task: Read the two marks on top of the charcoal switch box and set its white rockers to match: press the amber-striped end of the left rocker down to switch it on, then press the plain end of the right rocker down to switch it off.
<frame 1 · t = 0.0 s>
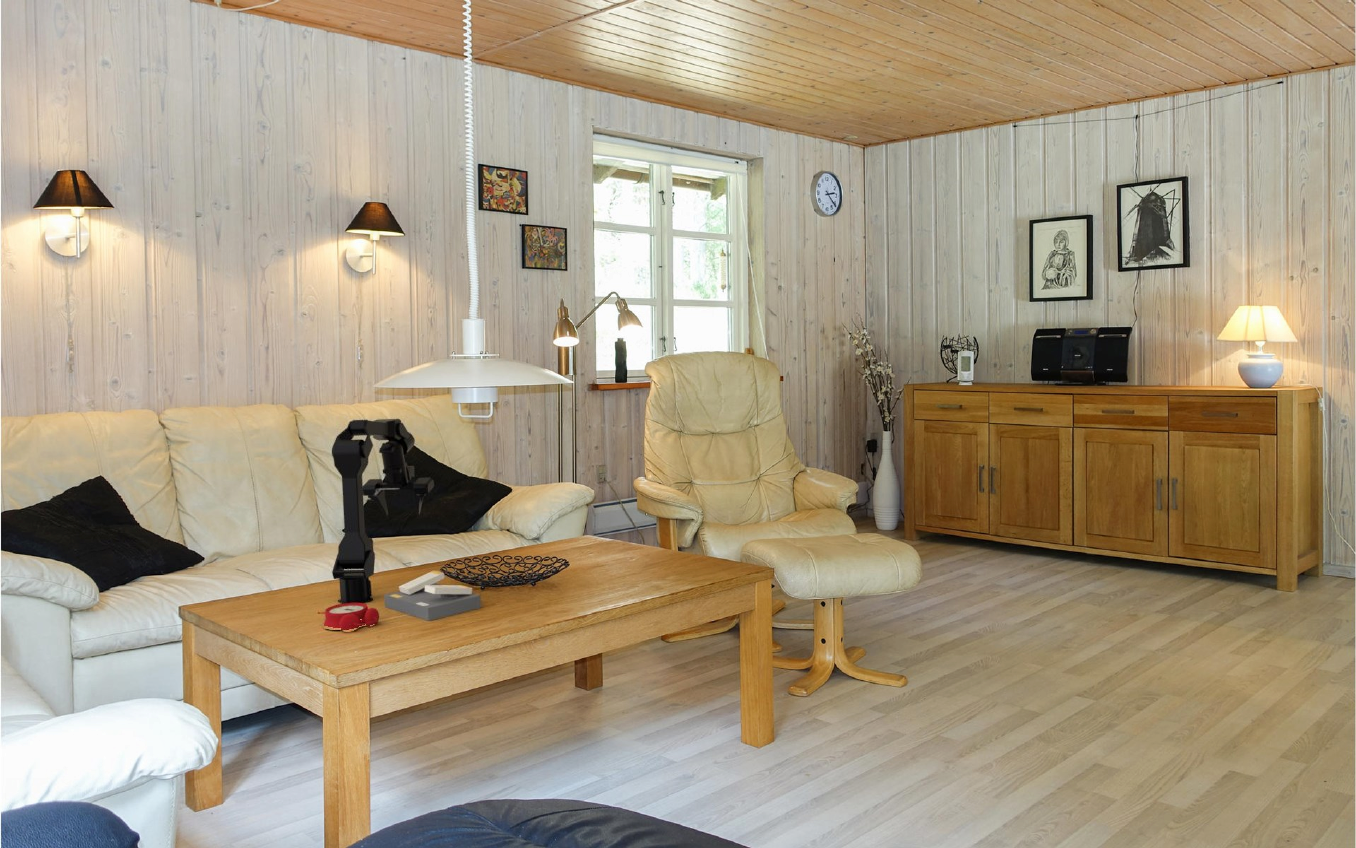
hand: (402, 514, 284), 15 cm above the table, tool pointing down, fingers open, 9 cm apart
switch box: (432, 607, 242), on the table
left rocker: (421, 582, 247), point 5 cm above the table, hinge at -12.0°
right rocker: (448, 589, 238), point 5 cm above the table, hinge at 12.0°
alarm clock: (351, 627, 229), on the table
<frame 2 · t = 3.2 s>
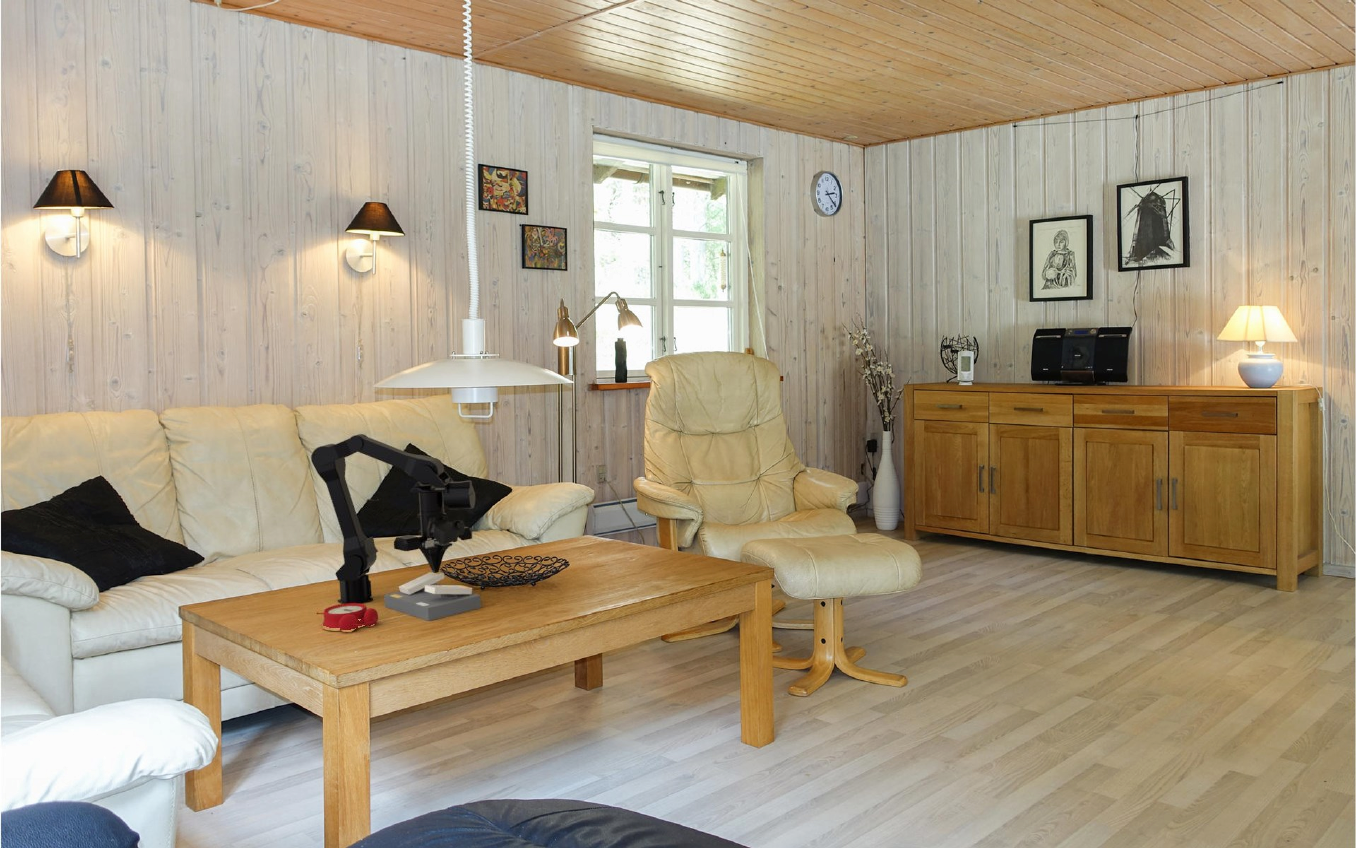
hand: (435, 572, 249), 7 cm above the table, tool pointing down, fingers closed, pressing on left rocker
left rocker: (421, 582, 247), point 5 cm above the table, hinge at -12.0°, touching gripper
everything else where it was.
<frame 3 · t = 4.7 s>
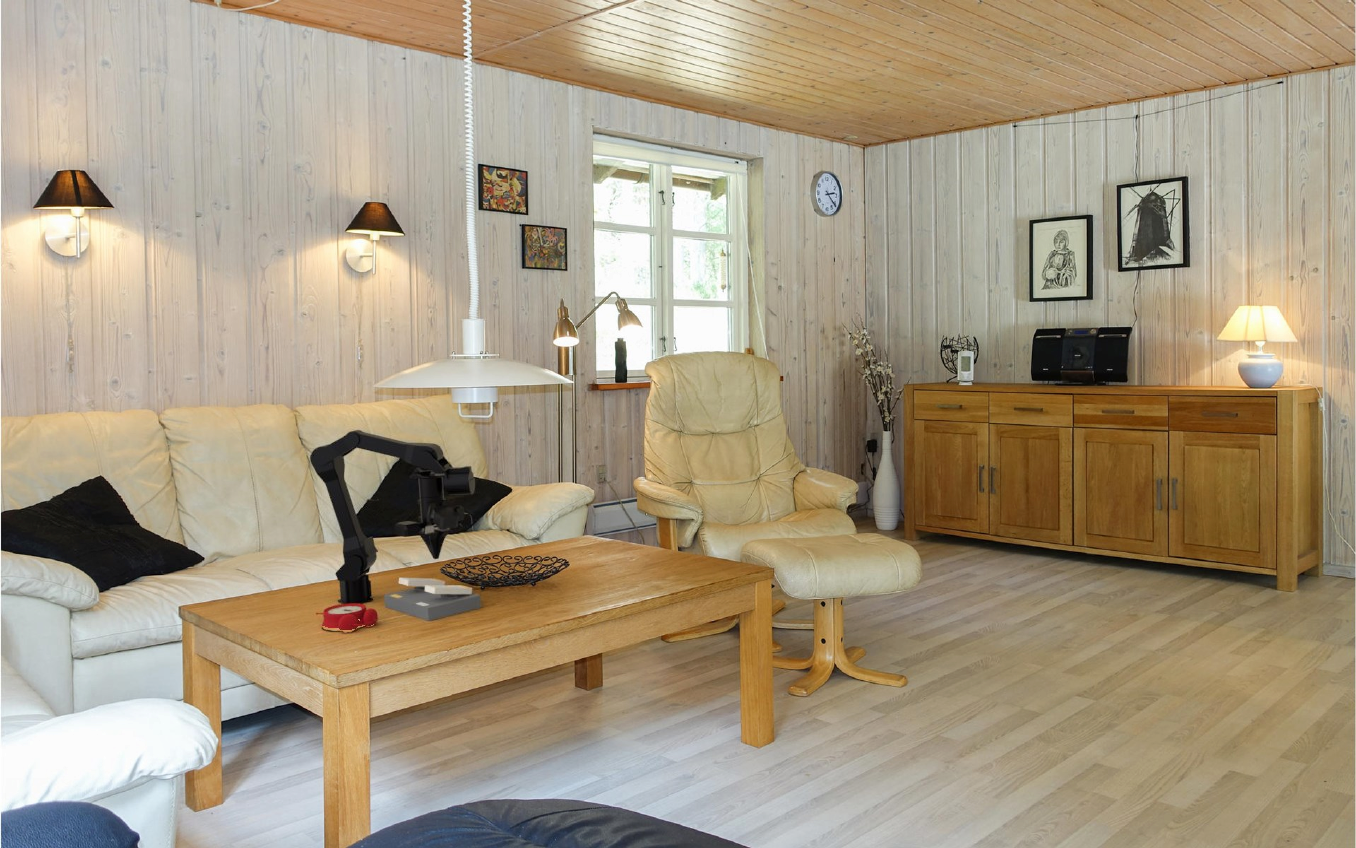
hand: (436, 558, 249), 10 cm above the table, tool pointing down, fingers closed
left rocker: (422, 582, 247), point 5 cm above the table, hinge at 13.3°
everything else where it was.
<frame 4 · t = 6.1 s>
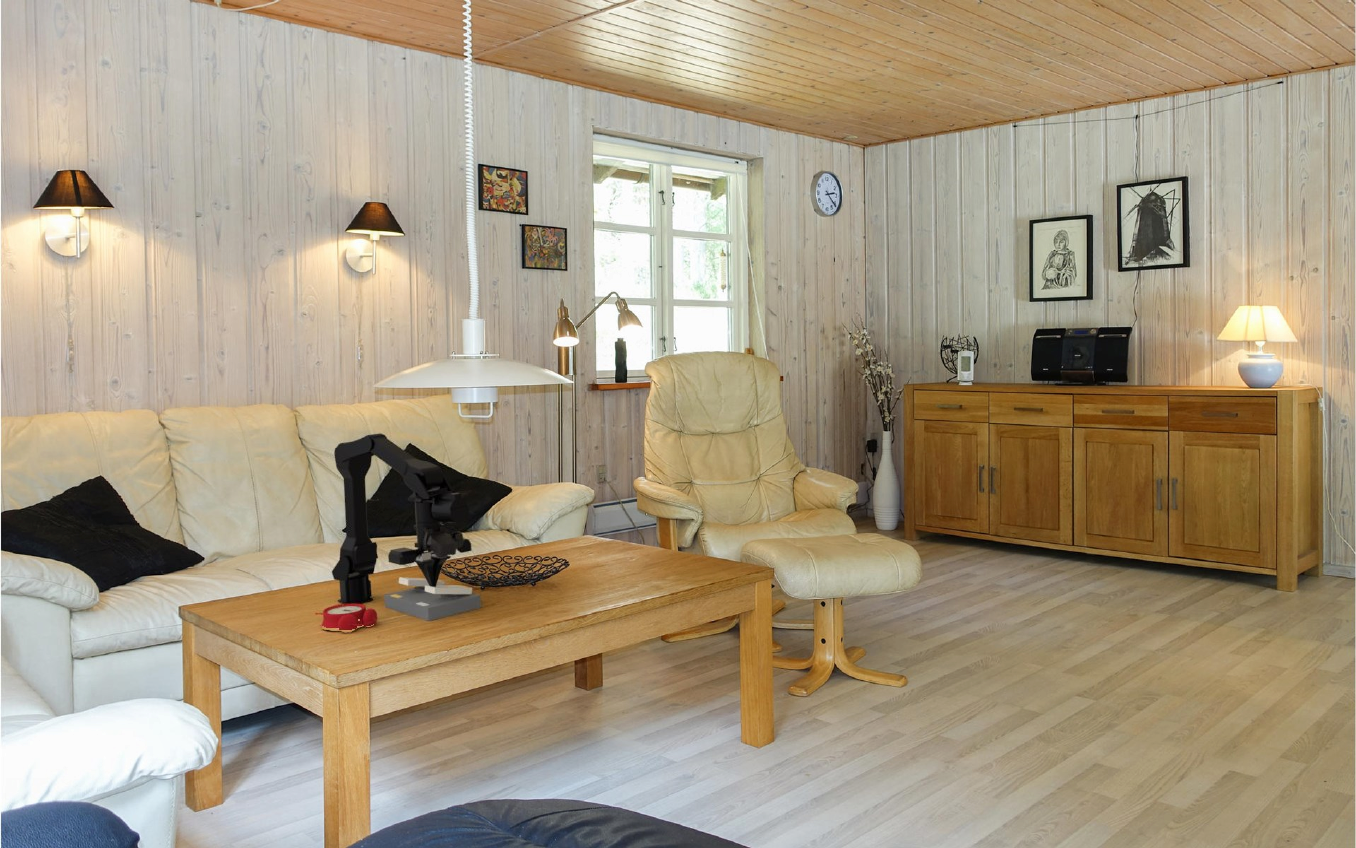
hand: (432, 587, 235), 6 cm above the table, tool pointing down, fingers closed, pressing on right rocker
left rocker: (422, 582, 247), point 5 cm above the table, hinge at 13.7°
right rocker: (448, 589, 238), point 5 cm above the table, hinge at 12.0°, touching gripper
everything else where it was.
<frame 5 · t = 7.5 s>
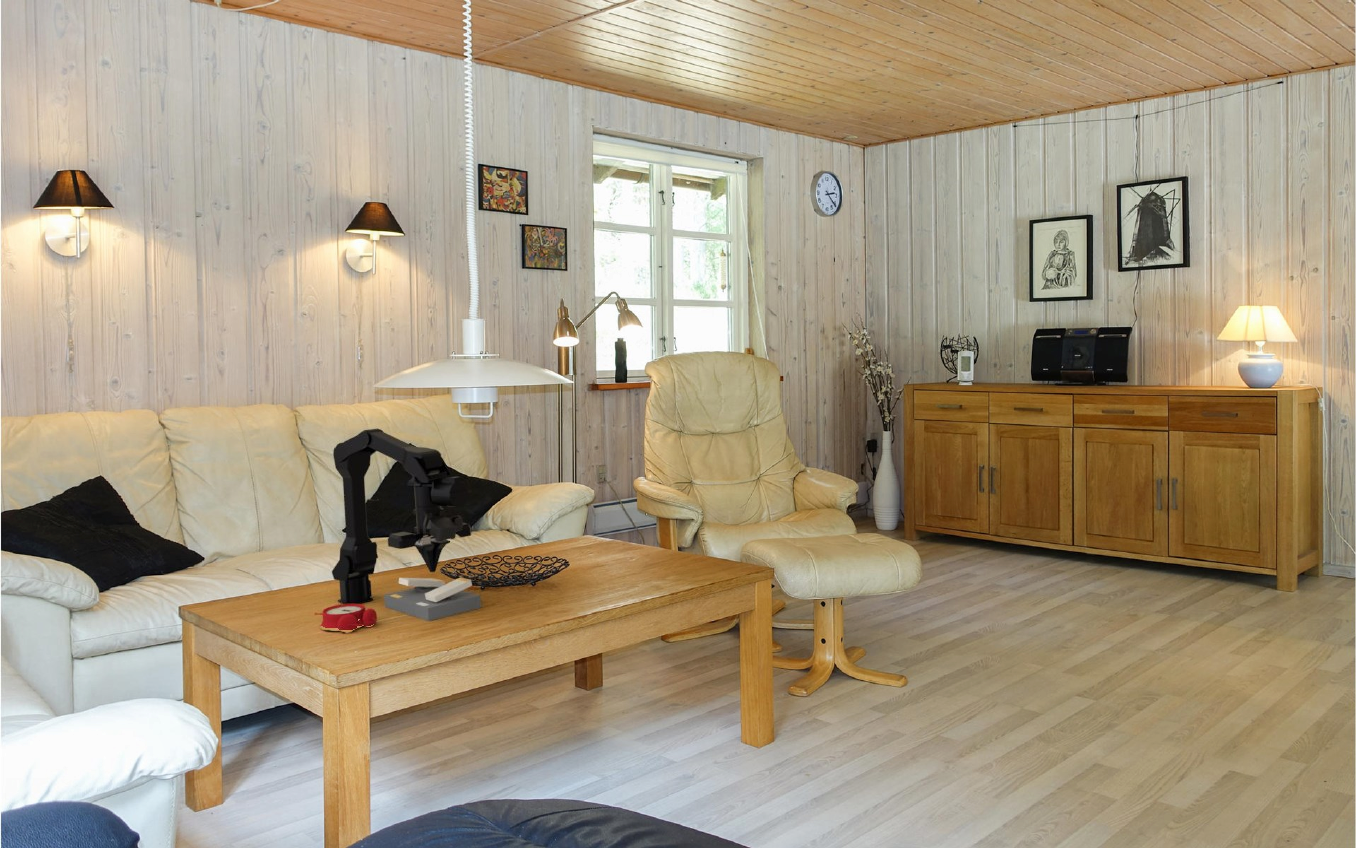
hand: (432, 572, 235), 10 cm above the table, tool pointing down, fingers closed
left rocker: (422, 582, 247), point 5 cm above the table, hinge at 12.9°
right rocker: (448, 589, 238), point 5 cm above the table, hinge at -11.1°
everything else where it was.
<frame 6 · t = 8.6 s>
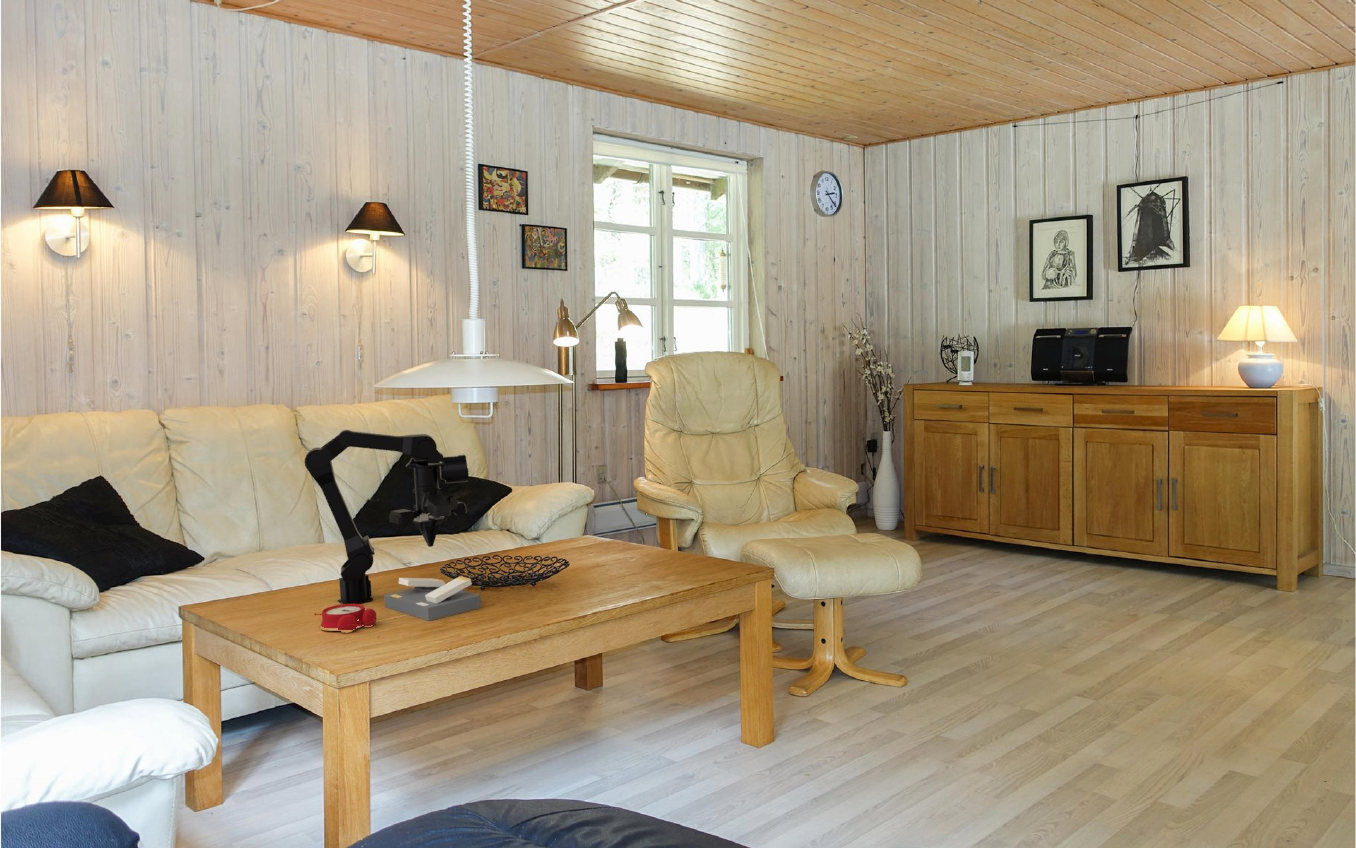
hand: (430, 546, 255), 12 cm above the table, tool pointing down, fingers closed
right rocker: (448, 589, 238), point 5 cm above the table, hinge at -15.2°
everything else where it was.
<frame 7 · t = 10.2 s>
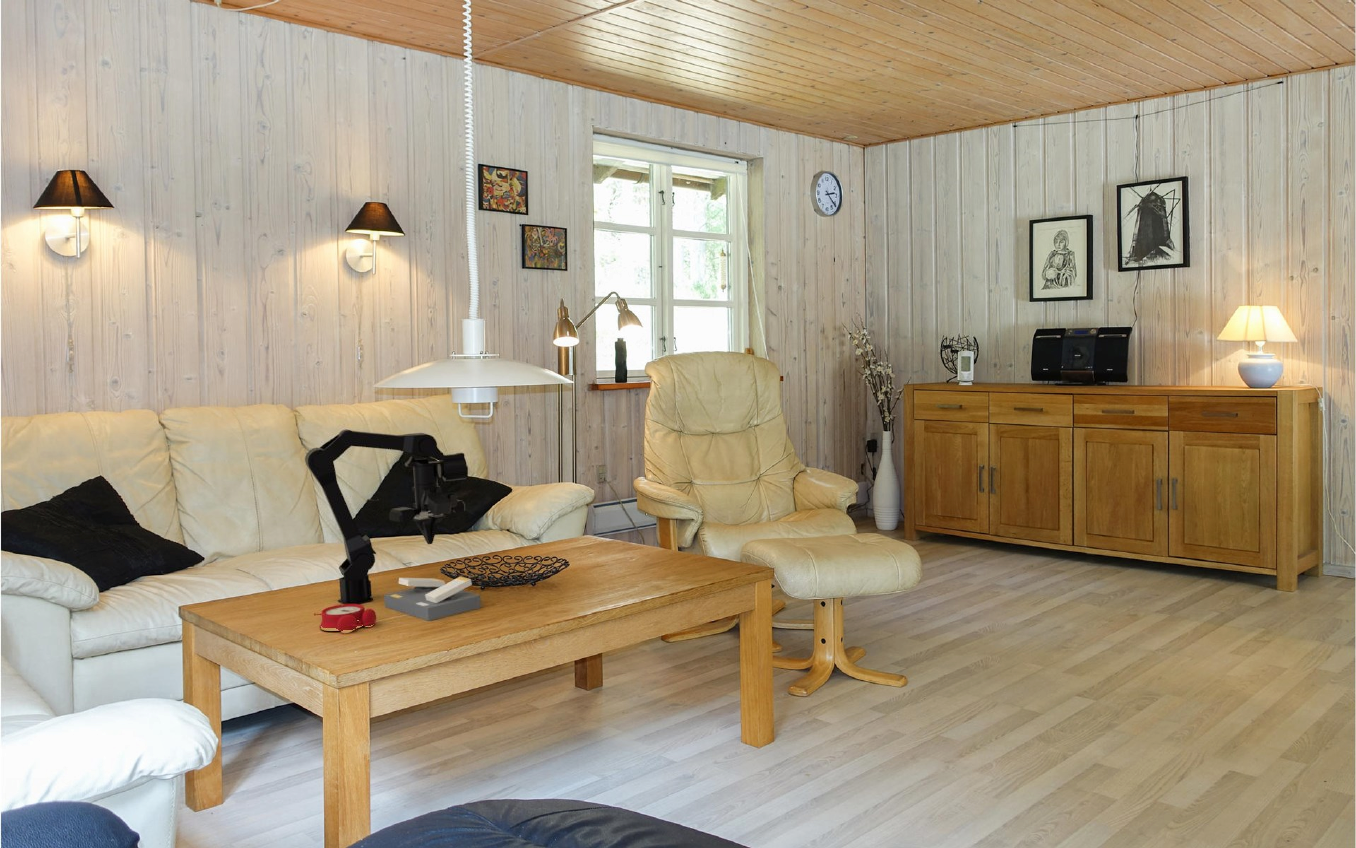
hand: (429, 544, 258), 12 cm above the table, tool pointing down, fingers closed
right rocker: (448, 589, 238), point 5 cm above the table, hinge at -14.0°
everything else where it was.
at the end: left rocker at +13° (first picture: -12°); right rocker at -14° (first picture: +12°); alarm clock moved 1.1 cm from its start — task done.
